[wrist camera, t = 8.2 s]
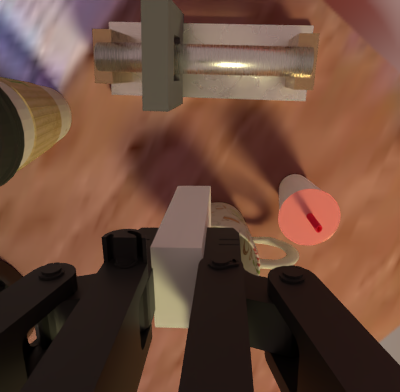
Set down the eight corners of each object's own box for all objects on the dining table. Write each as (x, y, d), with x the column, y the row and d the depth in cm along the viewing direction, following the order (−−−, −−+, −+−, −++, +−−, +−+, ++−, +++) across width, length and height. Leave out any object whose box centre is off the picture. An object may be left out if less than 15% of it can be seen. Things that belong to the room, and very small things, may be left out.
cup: (325, 170, 41) (359, 207, 30) (311, 216, 43) (338, 267, 31) (276, 160, 41) (292, 193, 30) (264, 206, 43) (274, 253, 32)
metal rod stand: (114, 94, 41) (84, 98, 33) (111, 22, 39) (78, 9, 31) (304, 100, 39) (321, 107, 31) (312, 26, 37) (333, 13, 29)
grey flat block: (162, 102, 37) (142, 110, 30) (162, 13, 35) (140, -4, 27) (182, 103, 37) (168, 111, 29) (183, 14, 35) (168, -4, 27)
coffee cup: (12, 53, 40) (-109, 41, 26) (98, 90, 41) (25, 99, 26) (-7, 138, 43) (-126, 169, 29) (73, 172, 44) (-6, 219, 30)
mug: (184, 189, 43) (170, 222, 34) (296, 196, 42) (313, 232, 33) (182, 255, 46) (168, 303, 36) (288, 263, 45) (302, 314, 35)
